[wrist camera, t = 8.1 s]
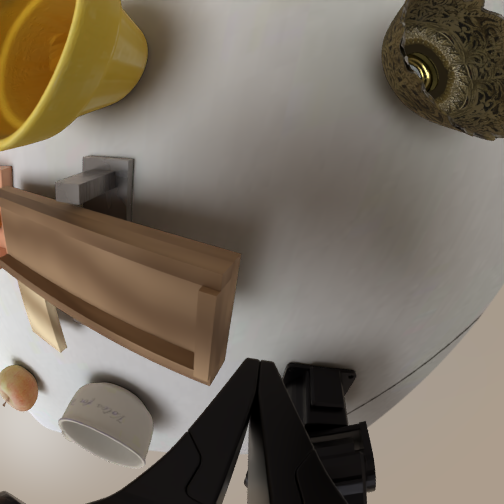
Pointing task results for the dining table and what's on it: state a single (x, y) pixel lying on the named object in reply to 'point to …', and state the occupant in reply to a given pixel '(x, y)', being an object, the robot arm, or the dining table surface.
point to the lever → (120, 282)
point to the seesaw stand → (100, 187)
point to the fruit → (18, 387)
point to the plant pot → (63, 64)
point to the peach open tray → (3, 177)
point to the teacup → (109, 424)
